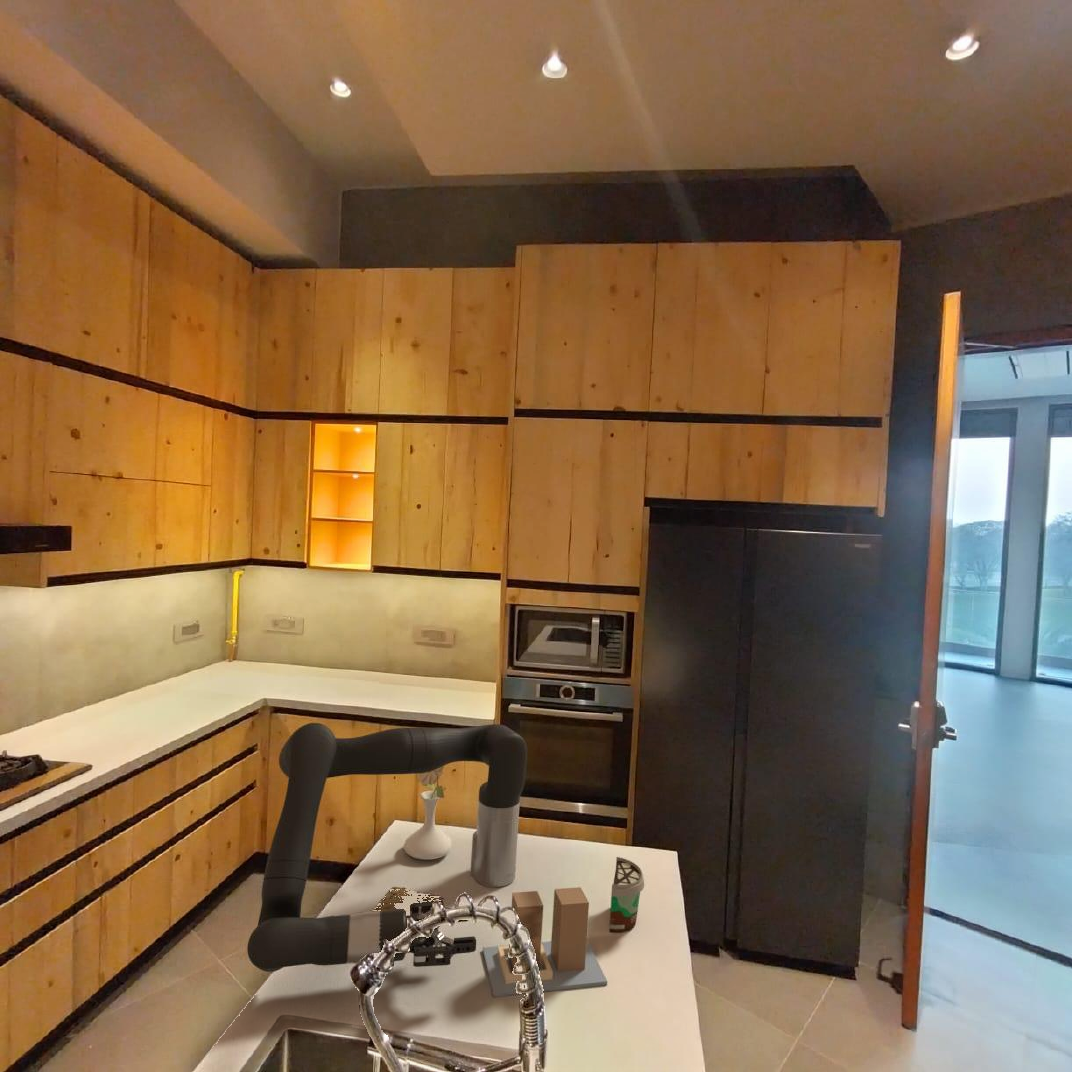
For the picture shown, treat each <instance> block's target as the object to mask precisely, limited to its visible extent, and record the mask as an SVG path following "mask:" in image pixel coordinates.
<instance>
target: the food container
mask: <svg viewBox="0 0 1072 1072" xmlns="http://www.w3.org/2000/svg"><path fill="white" fill-rule="evenodd" d="M614 872H615V873H614V877H613V883H612V884H611V892H610V893H611V894H610V896H611V899H610V911H609V912H610V915H609V917H610V918H609V930H608V931H609V933H613V934H622V933H623V934H624V933H627V932H630V931H631V930H633V929H634V928H635V926H636V924H637V919H638V918H637V917H638V912H639V910H638V909H639V903H640V896H641V892H642V891H643V890H644V888H645V878H644V874H643V872H642V870H641V867H640V866H639V865H637V864H636V863H635V862H633V861H631V860H629V859H628V858H627V859H626V858H624V857H619V856H616V862H615V871H614Z"/></svg>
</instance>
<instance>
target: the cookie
mask: <svg viewBox="0 0 1072 1072" xmlns="http://www.w3.org/2000/svg"><path fill="white" fill-rule="evenodd" d="M390 889H394V890H392V891H391V892H390ZM390 889H389V890H388V891H389V892H388V891H387V892H388V893H387V892H386V893H385V894H384V896H386V897H384V896H383V897H384V898H385V899H384V898H383V897H382V898H383V899H384V900H383V899H382V898H381V899H380V901H381V902H380V901H379V902H378V903H381V905H382V906H381V905H379V906H377V905H376V906H377V907H378V908H376V909H374V908H372V910H377V911H378V910H381V911H383V910H397V909H396V908H395V907H394V906H395V905H394V903H395V904H396V903H403V901H402V900H404V899H402V897H401V896H407V895H408V896H410V895H409V894H407V893H406V892H408V891H406V890H405V889H408V888H406V887H404V886H403V887H398V886H392V887H391V888H390ZM396 889H400V890H398V891H397V890H396ZM395 890H396V891H395ZM410 890H411V889H410ZM410 890H409V891H410ZM404 891H405V892H404ZM418 892H419V891H417V893H418ZM404 893H405V894H406V895H405V894H404ZM430 894H431V895H428V896H429V897H430V896H436V895H437V896H440V895H439V894H433V893H430ZM395 896H396V897H395ZM398 896H399V897H400V898H399V897H398ZM411 896H412V894H411ZM418 896H421V895H418ZM425 896H426V895H425ZM429 897H426V898H427V899H423V898H424V897H423V898H422V899H423V901H427V902H429V901H428V900H431V898H434V897H431V898H429ZM417 899H419V898H417ZM436 899H439V900H441V901H444V900H445V897H443V896H441V897H439V898H434V899H433V900H436ZM400 900H401V901H400ZM433 900H432V901H433ZM417 901H418V900H417ZM432 901H431V902H432ZM418 902H419V903H420V901H418ZM383 903H384V905H383ZM390 903H391V904H390ZM379 907H381V908H379ZM430 910H431V908H430Z"/></svg>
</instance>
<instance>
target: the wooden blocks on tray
mask: <svg viewBox="0 0 1072 1072" xmlns="http://www.w3.org/2000/svg"><path fill="white" fill-rule="evenodd" d="M553 890H554V891H553V892H554V893H553V909H552V911H553V912H552V921H551V922H552V923H551V937H550V938H551V941H541V952H540V968H539V971H540V977H541V981H542V985H543V989H544V992H551V991H552V992H554V991H562V990H571V989H579V988H581V989H582V988H589V987H598V986H606V985H608V980H607V978H606V976H605V973H604V972H603V970H602V968H601V965H600V963H599V961H598V959H597V957H596V955H595V953H594V952H593V949H592V948H591V947H592V946H591V945H590V942H589V941H588V939H587V938H588V922H589V908H590V902H589V900H588V898H587V896H586V895H585V893H584V891H583V889H582V887H580V886H579V887H578V886H577V887H565V888H554V889H553ZM508 952H509V944H508V945H497V946H496V945H495V946H485V947H482V953H483V957H484V962H485V967H486V971H487V974H488V978H489V982H490V983H489V984H490V988H491V991H492V996H493V998H496V997H504V996H505V997H506V996H516V995H518V994H517V993H516V989H515V988H516V983H517V981H521V980H522V975H514V974H513V973H512V969H511V966H510V962H509V959H508ZM524 988H525V985H524ZM523 994H524V993H523ZM523 994H522V995H523Z"/></svg>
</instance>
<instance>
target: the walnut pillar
mask: <svg viewBox="0 0 1072 1072" xmlns="http://www.w3.org/2000/svg"><path fill="white" fill-rule="evenodd" d="M512 908H514V909H515V910H516V912H517V914H518V917H519V919H520V922H521V924H522V925H523V926H524V927H526V928H527V929H528V931H529V934H530V939H531V942H532V945H533V947H534V949H535V953H536V961H537V964H538V967H539V968H540V952H541V942H542V934H543V933H542V932H543V917H544V903H543V901H542V899H541V896H540V894H539V892H538V890H532V891H531V890H530V891H516V892H512V894H511V909H512ZM508 945H509V948H510V944H509V943H508ZM508 959H509V962H510V966H511V969H512V971H513V968H514V965H515V963H516V962H517V958H516V957H513V958H509V957H508Z"/></svg>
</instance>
